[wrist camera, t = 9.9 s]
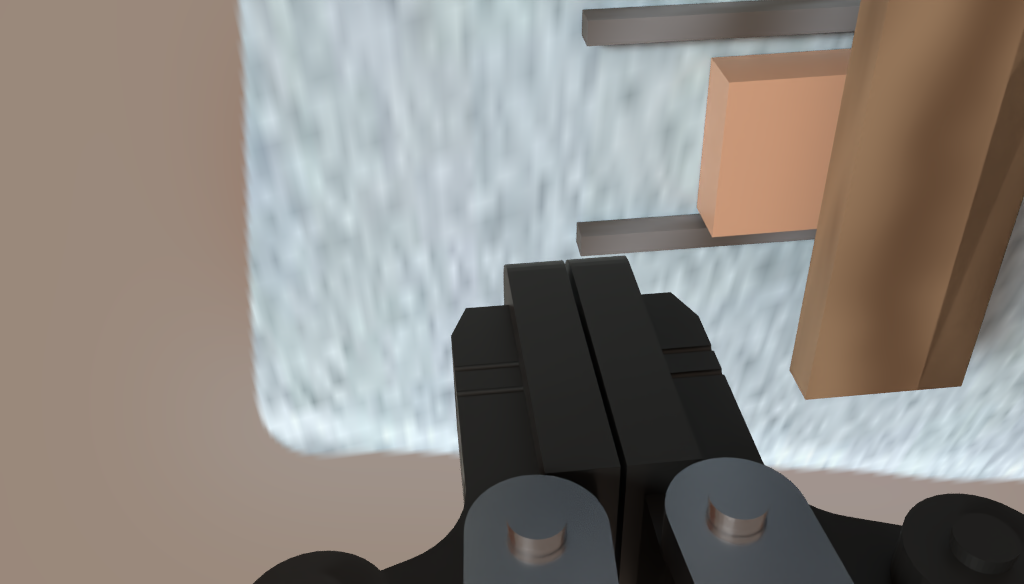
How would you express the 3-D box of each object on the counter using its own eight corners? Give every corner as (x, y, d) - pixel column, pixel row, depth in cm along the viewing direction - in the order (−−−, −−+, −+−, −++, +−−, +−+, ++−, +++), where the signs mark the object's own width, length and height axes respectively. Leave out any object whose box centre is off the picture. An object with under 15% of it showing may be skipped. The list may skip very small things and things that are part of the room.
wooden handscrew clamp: (1011, -137, 37) (1118, -92, 31) (897, 299, 48) (961, 386, 43) (586, -119, 35) (622, -69, 30) (574, 325, 47) (598, 417, 42)
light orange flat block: (902, 45, 40) (930, 68, 38) (870, 194, 44) (894, 222, 42) (711, 57, 40) (729, 82, 38) (696, 207, 44) (712, 237, 42)
